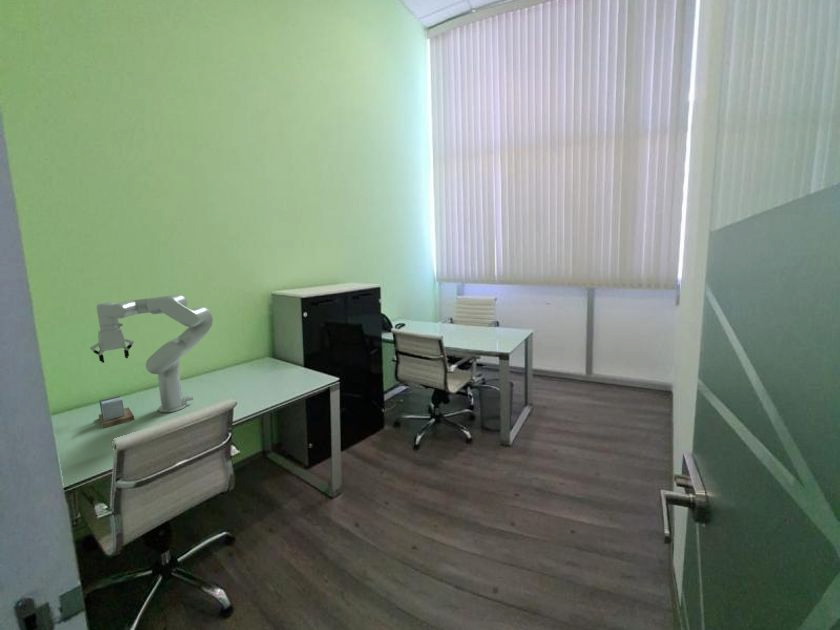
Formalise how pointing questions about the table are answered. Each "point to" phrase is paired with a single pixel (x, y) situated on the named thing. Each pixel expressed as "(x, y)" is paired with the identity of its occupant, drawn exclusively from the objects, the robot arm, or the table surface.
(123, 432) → the table surface
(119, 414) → the medicine box
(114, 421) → the wooden display stand
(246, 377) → the table surface
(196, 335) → the robot arm
